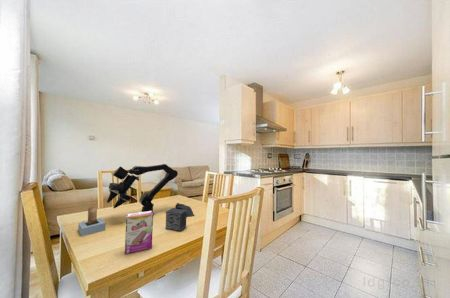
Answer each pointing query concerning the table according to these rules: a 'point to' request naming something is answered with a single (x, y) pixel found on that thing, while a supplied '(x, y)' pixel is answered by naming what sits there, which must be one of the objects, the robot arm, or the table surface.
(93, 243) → the table surface
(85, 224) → the socket block
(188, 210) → the dark slate chunk
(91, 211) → the walnut peg
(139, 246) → the candy bar box
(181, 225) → the small box
